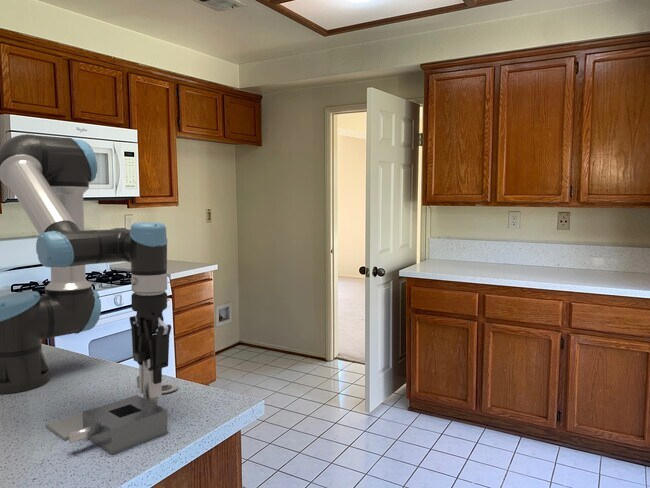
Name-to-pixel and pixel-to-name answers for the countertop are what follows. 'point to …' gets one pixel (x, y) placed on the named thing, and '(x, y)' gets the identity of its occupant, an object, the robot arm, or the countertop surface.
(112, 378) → the countertop surface
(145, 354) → the chuck key
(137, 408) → the block
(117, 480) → the countertop surface
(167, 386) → the bracket
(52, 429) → the mat
